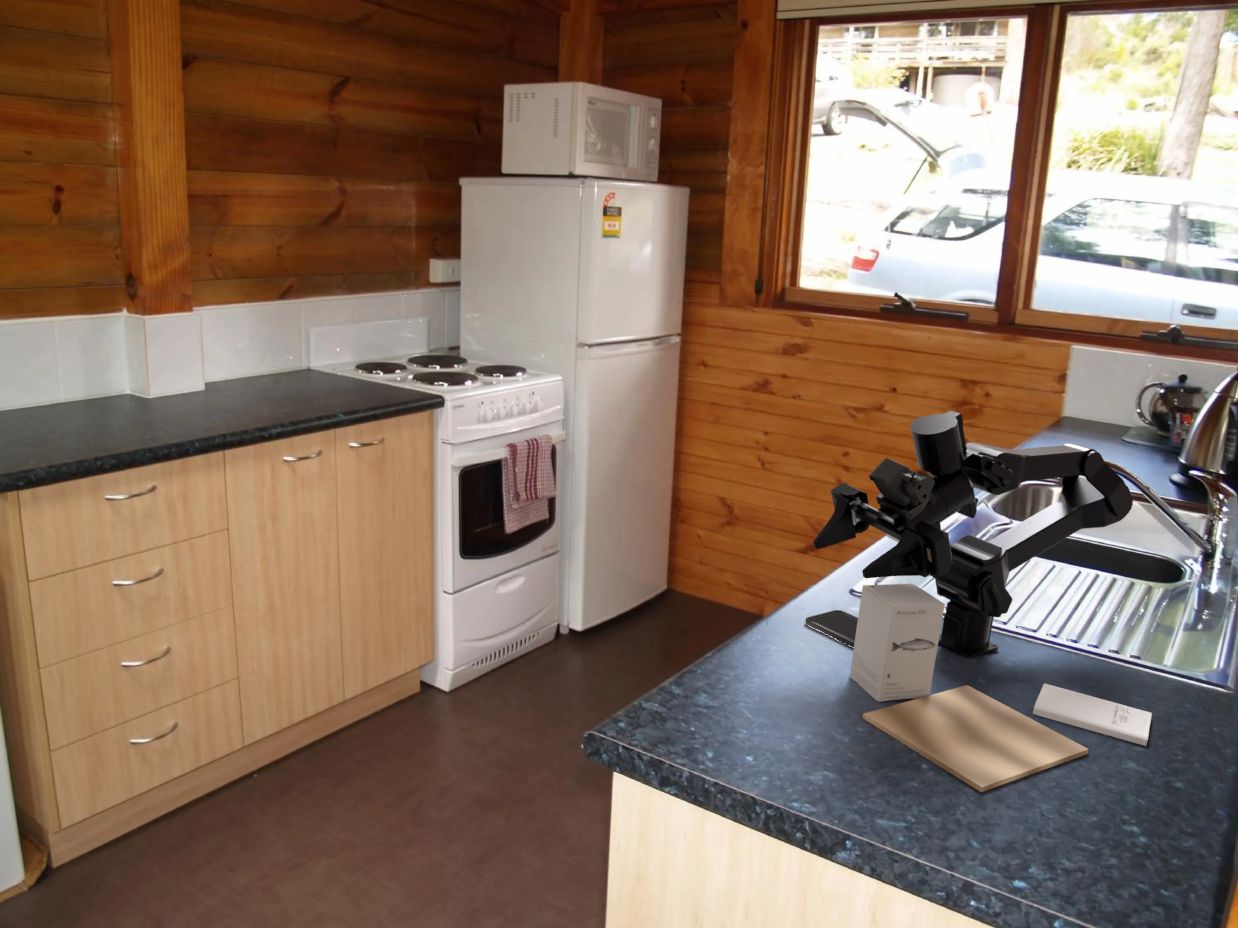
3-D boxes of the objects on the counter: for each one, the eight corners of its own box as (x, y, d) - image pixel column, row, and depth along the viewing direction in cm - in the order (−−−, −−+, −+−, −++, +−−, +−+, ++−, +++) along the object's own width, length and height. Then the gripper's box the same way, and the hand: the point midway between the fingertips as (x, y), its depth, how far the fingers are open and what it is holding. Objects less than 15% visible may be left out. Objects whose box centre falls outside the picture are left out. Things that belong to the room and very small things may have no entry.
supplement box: (878, 703, 123) (892, 606, 119) (848, 676, 129) (860, 583, 126) (931, 699, 125) (946, 603, 122) (899, 672, 132) (912, 581, 128)
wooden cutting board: (966, 689, 128) (967, 684, 128) (1087, 753, 114) (1088, 749, 114) (862, 718, 119) (863, 713, 118) (981, 792, 105) (982, 786, 105)
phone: (886, 659, 134) (802, 618, 145) (884, 667, 134) (801, 625, 145) (923, 647, 138) (839, 608, 150) (922, 654, 138) (838, 615, 150)
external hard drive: (1042, 693, 130) (1150, 722, 124) (1031, 718, 123) (1145, 750, 117) (1044, 681, 130) (1152, 710, 124) (1033, 706, 123) (1148, 737, 117)
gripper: (871, 428, 135) (779, 481, 130) (980, 472, 120) (881, 535, 115) (883, 497, 140) (795, 550, 135) (989, 548, 125) (894, 611, 120)
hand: (838, 559), depth 126 cm, fingers open, 9 cm apart
